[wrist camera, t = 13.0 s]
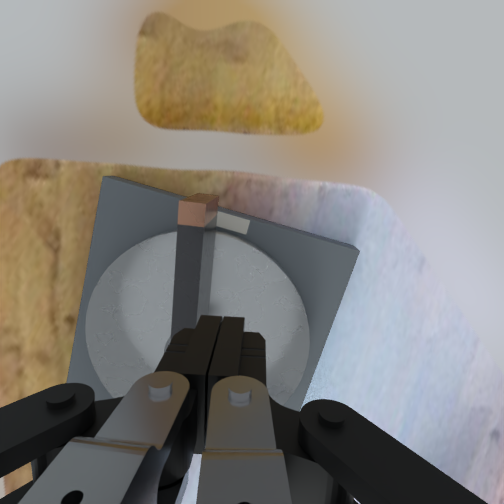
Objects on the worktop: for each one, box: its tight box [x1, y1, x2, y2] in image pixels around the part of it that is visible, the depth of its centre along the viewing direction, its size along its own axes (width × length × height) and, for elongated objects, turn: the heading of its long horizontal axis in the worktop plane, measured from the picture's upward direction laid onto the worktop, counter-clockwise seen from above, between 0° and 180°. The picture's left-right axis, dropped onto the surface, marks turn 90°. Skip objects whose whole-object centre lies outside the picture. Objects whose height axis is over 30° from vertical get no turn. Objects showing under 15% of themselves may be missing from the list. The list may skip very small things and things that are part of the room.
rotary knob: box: [85, 193, 310, 406], centre depth 26 cm, size 22×19×8 cm
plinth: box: [67, 176, 360, 411], centre depth 32 cm, size 22×22×2 cm
